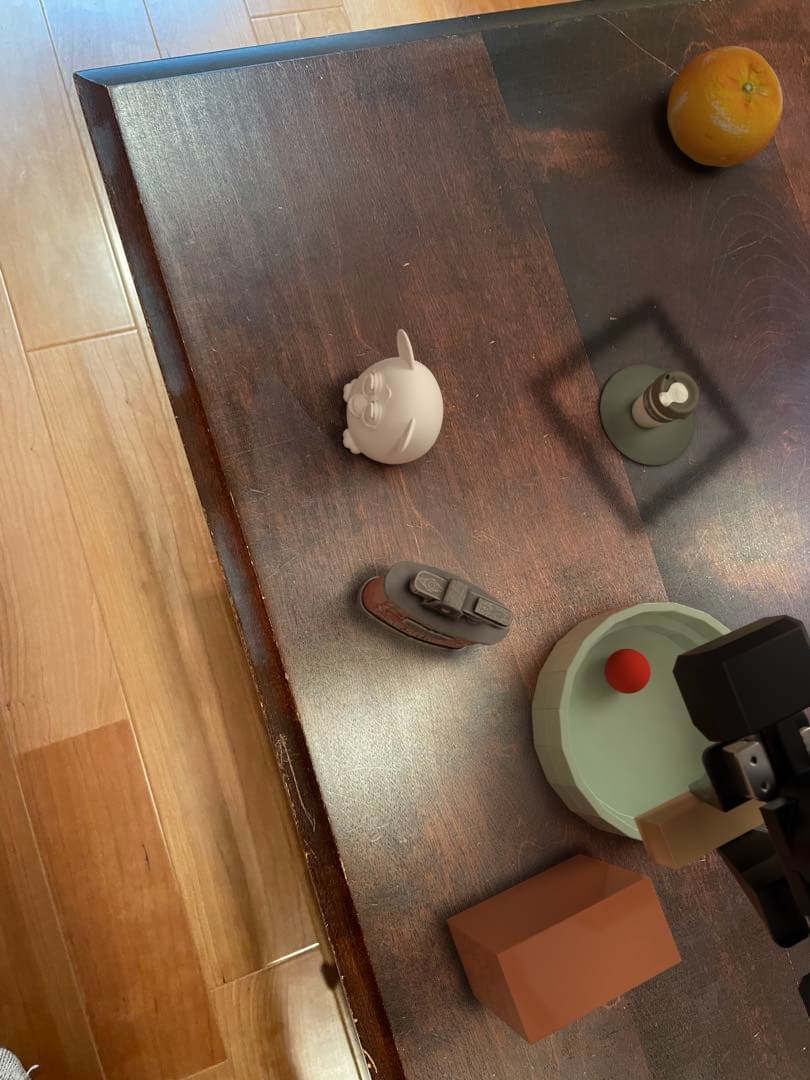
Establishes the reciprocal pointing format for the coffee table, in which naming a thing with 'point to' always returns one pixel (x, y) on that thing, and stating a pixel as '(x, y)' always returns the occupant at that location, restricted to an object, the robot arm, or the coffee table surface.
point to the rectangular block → (563, 944)
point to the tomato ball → (627, 671)
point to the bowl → (620, 715)
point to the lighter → (434, 608)
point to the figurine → (393, 408)
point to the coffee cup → (649, 413)
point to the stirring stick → (692, 828)
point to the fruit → (725, 106)
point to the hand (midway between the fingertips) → (705, 808)
